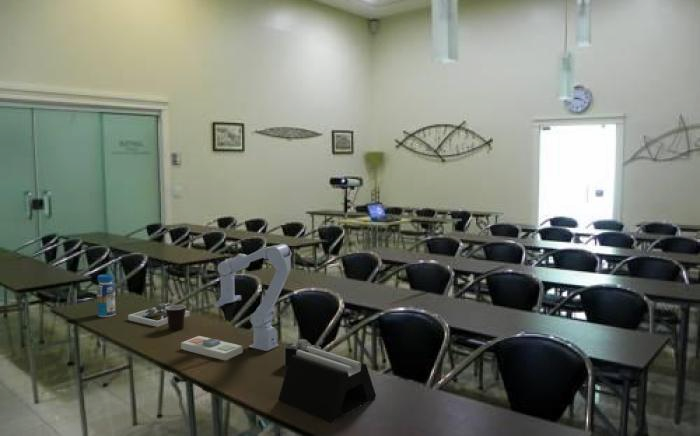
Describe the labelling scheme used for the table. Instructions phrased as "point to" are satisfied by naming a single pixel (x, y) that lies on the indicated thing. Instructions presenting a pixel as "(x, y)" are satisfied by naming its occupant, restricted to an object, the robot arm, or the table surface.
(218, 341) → the slate key
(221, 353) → the keypad
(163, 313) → the molecule model
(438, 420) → the table surface
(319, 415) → the device stand
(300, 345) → the camera
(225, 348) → the sage key
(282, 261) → the robot arm
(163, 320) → the display tray
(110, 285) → the beverage bottle
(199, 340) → the terracotta key
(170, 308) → the coffee mug
